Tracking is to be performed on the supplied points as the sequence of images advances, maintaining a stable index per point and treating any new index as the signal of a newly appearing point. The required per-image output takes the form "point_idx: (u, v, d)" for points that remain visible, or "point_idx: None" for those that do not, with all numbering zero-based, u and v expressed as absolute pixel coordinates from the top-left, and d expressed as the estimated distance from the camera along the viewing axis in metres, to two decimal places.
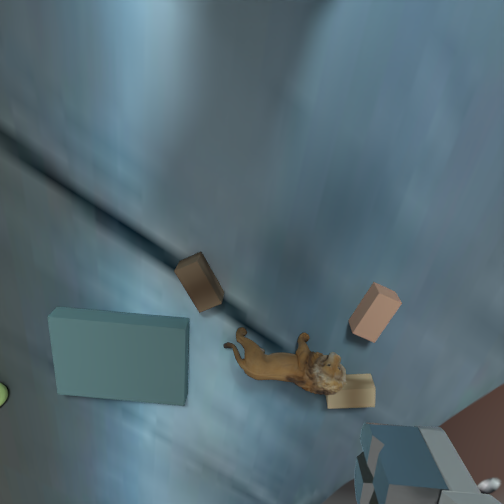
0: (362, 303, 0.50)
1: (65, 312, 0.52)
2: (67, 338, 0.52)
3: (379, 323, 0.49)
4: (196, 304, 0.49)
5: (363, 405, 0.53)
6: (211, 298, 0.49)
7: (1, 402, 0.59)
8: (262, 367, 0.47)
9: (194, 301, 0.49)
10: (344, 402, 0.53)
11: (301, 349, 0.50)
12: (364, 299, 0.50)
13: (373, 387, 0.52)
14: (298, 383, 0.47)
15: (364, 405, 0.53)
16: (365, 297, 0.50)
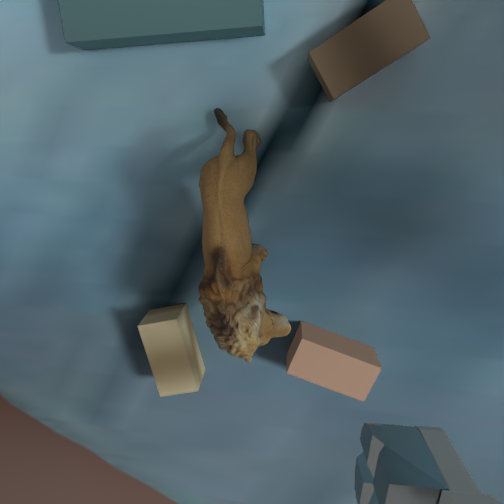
0: (340, 339, 0.31)
1: None
2: None
3: (323, 375, 0.30)
4: (328, 44, 0.24)
5: (158, 379, 0.31)
6: (344, 76, 0.24)
7: None
8: (236, 197, 0.23)
9: (335, 38, 0.24)
10: (157, 350, 0.30)
11: (258, 258, 0.27)
12: (347, 342, 0.31)
13: (197, 387, 0.31)
14: (220, 274, 0.24)
15: (158, 380, 0.31)
16: (349, 341, 0.31)
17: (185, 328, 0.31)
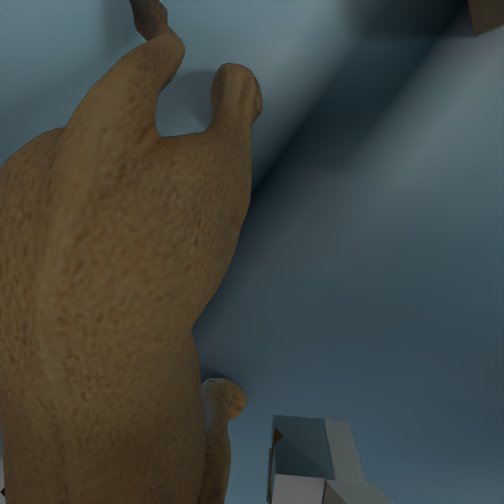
0: None
1: None
2: None
3: None
4: None
5: None
6: None
7: None
8: (143, 353, 0.04)
9: None
10: None
11: (222, 467, 0.09)
12: None
13: None
14: None
15: None
16: None
17: None
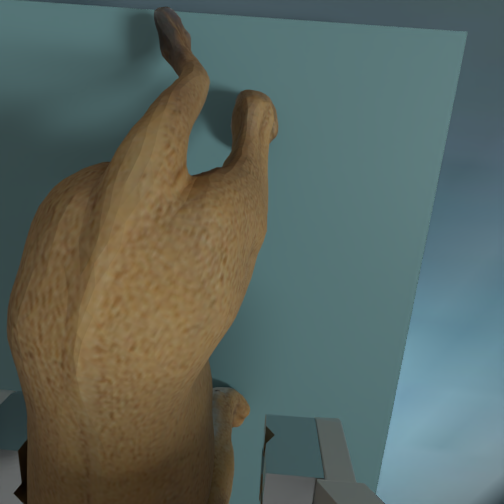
0: None
1: None
2: (328, 124, 0.10)
3: None
4: None
5: None
6: None
7: None
8: (168, 378, 0.05)
9: None
10: None
11: (226, 476, 0.09)
12: None
13: None
14: None
15: None
16: None
17: None
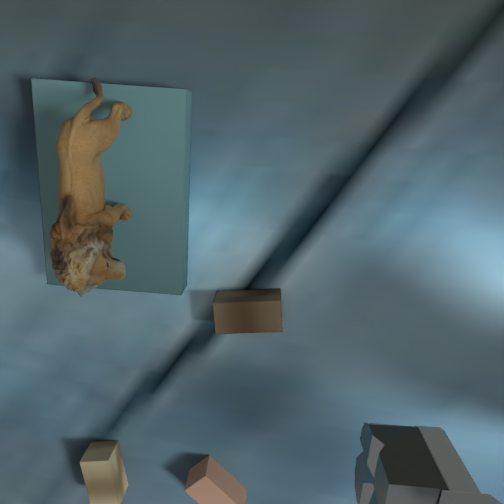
0: (228, 477, 0.45)
1: (188, 112, 0.33)
2: (148, 117, 0.32)
3: (207, 501, 0.43)
4: (225, 305, 0.36)
5: (91, 497, 0.43)
6: (227, 325, 0.37)
7: None
8: (85, 154, 0.27)
9: (230, 304, 0.36)
10: (92, 478, 0.43)
11: (113, 213, 0.31)
12: (232, 481, 0.45)
13: None
14: (64, 217, 0.27)
15: (91, 498, 0.43)
16: (233, 480, 0.45)
17: (114, 462, 0.43)
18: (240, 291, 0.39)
